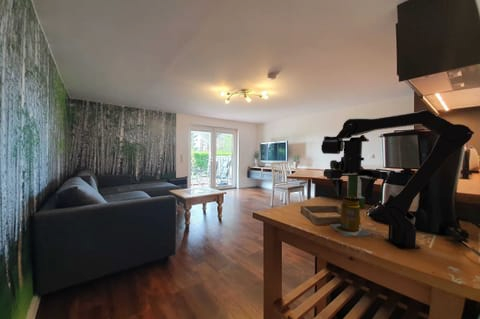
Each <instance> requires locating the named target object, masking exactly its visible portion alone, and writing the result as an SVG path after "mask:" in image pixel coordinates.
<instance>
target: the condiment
mask: <svg viewBox="0 0 480 319" xmlns="http://www.w3.org/2000/svg"><path fill="white" fill-rule="evenodd" d="M340 207H341V215H340V216H341V224H340V225H339V226H337V227H336V228H334V229H333V230H335V229H336V230H338V231H341V232H345V233H348V234H352V235H357V234H358V233H359V232H360V231H361V230H362V229H364V228H362V227H361V228H359V227H360V224H359V219H360V220H361V215H360V212H361V211H360V210H361V209H360V206H359V198H358V197H355V196H347V195H344V196H342V203H341V206H340ZM336 230H335V231H336Z"/></svg>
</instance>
